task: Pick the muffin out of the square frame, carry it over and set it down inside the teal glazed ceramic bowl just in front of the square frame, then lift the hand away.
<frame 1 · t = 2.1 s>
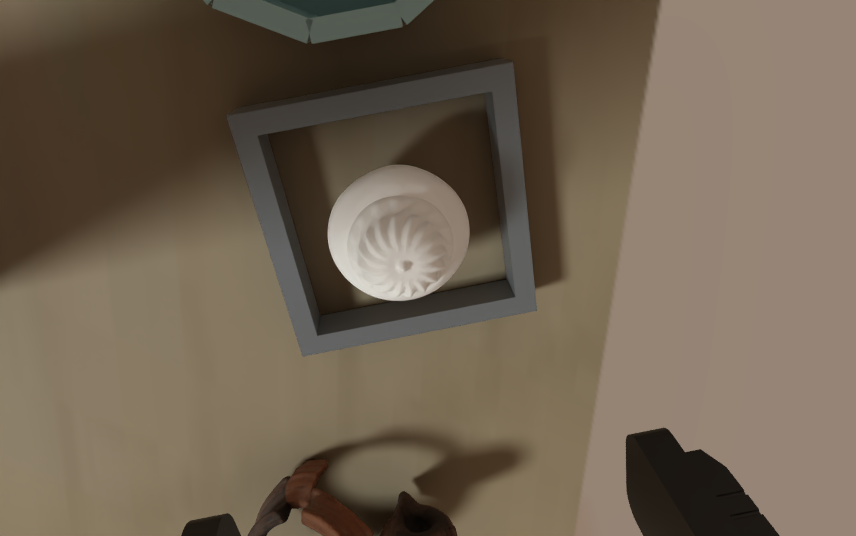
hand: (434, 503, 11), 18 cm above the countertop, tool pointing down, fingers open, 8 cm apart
brown looped piece: (357, 500, 36), on the countertop
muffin: (395, 207, 28), resting in square frame
square frame: (395, 209, 28), on the countertop
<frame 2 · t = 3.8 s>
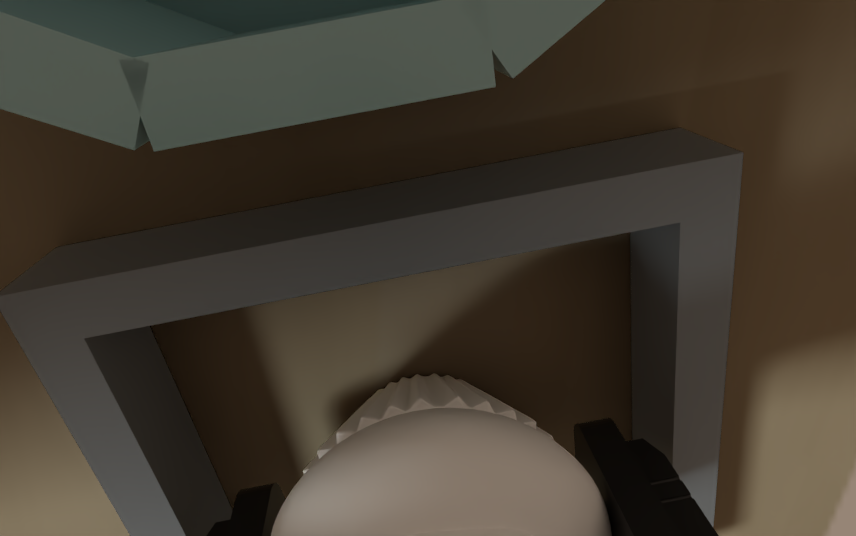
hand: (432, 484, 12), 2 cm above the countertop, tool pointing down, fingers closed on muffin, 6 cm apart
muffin: (423, 422, 13), resting in square frame, touching gripper
square frame: (424, 428, 13), on the countertop
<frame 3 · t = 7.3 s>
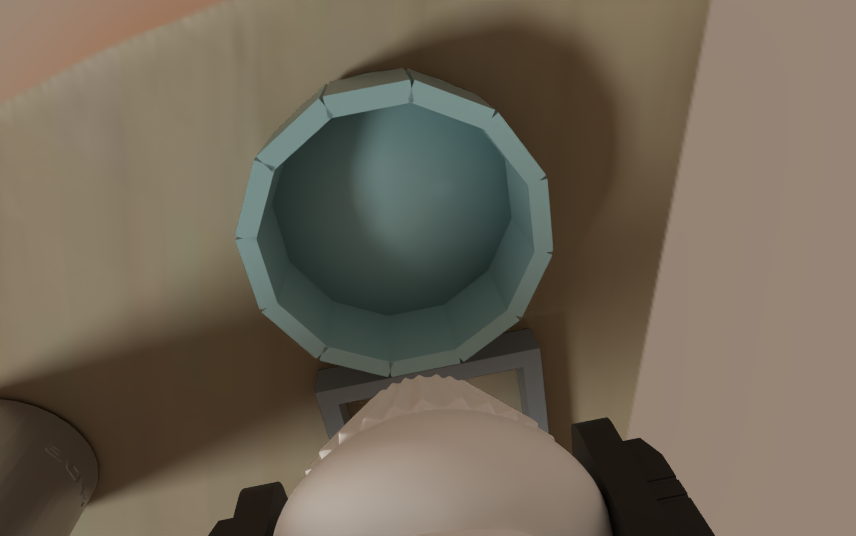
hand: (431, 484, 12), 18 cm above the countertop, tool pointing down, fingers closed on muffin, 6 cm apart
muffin: (425, 422, 13), point 16 cm above the countertop, touching gripper
bowl: (394, 206, 27), on the countertop
square frame: (441, 431, 34), on the countertop
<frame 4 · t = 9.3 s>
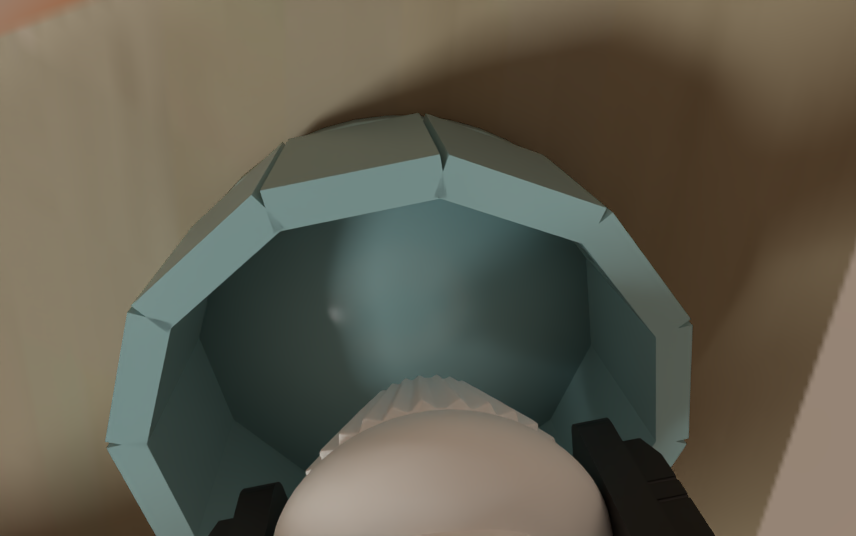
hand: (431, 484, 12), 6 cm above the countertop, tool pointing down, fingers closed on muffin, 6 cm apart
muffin: (425, 423, 13), point 4 cm above the countertop, touching gripper
bowl: (402, 327, 17), on the countertop
when the fingers open (5 cm above the countertop, at t = 10.6 s): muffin drops 2 cm, resting on bowl.
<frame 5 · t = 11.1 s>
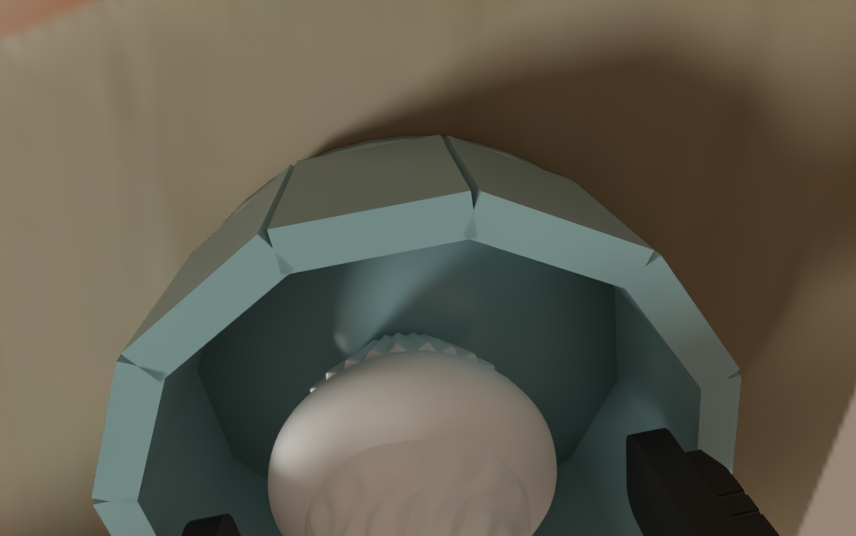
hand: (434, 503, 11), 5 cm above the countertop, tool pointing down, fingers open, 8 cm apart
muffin: (404, 376, 15), point 1 cm above the countertop, touching bowl
bowl: (415, 359, 16), on the countertop
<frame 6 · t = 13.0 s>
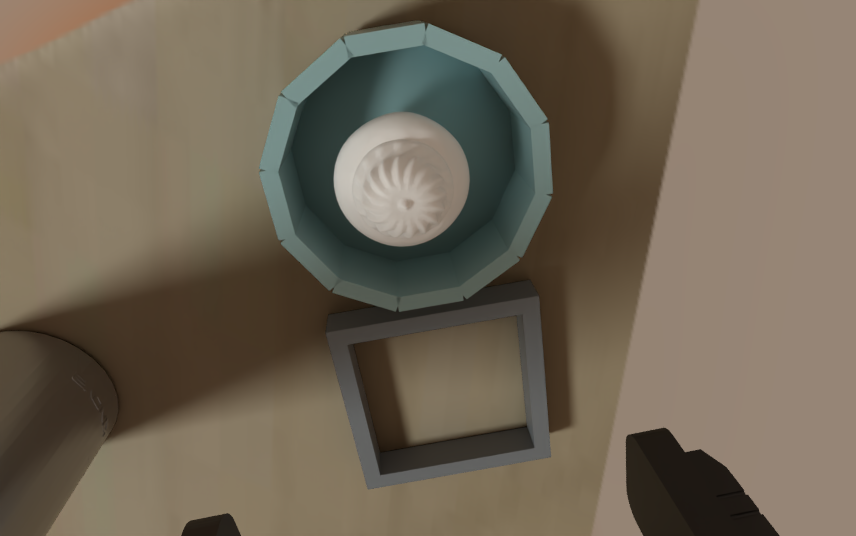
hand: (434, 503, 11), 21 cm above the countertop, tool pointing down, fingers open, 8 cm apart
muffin: (399, 161, 29), point 1 cm above the countertop, touching bowl
bowl: (405, 155, 29), on the countertop
square frame: (443, 379, 36), on the countertop
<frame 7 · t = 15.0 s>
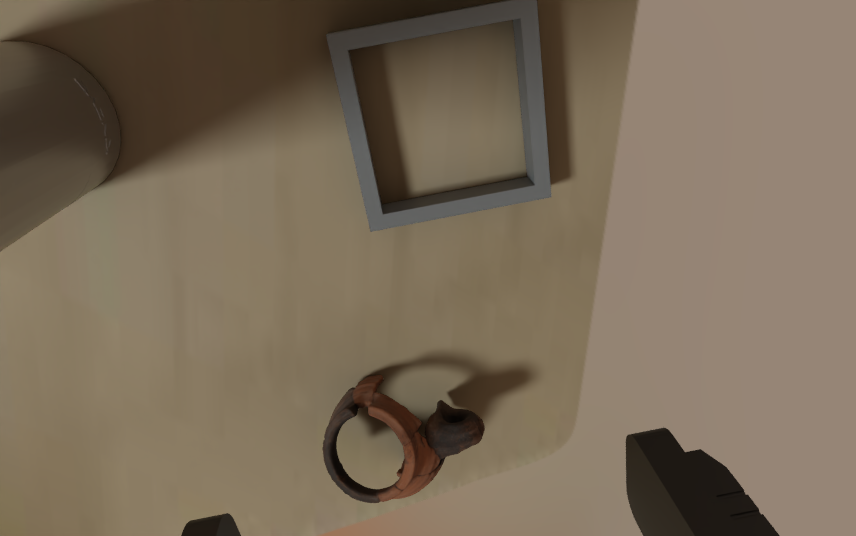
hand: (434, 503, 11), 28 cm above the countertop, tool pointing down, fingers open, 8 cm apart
brown looped piece: (403, 411, 46), on the countertop
square frame: (443, 116, 36), on the countertop
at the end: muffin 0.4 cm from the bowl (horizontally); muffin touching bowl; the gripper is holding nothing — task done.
